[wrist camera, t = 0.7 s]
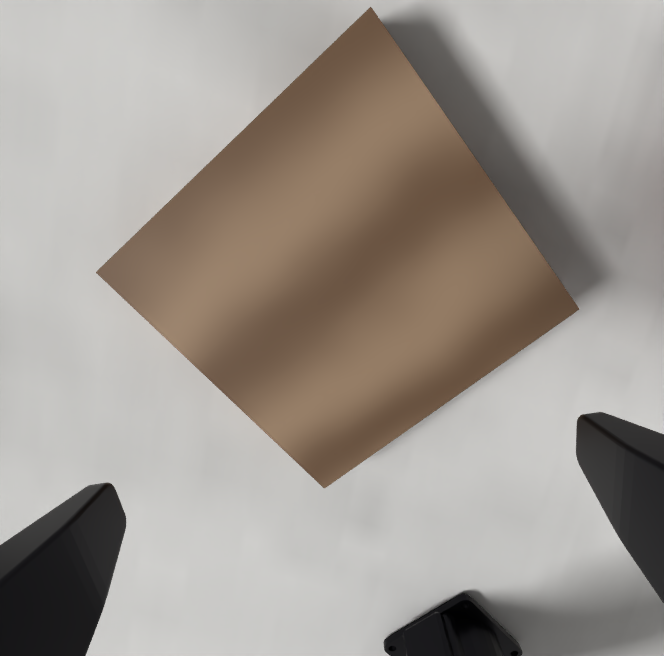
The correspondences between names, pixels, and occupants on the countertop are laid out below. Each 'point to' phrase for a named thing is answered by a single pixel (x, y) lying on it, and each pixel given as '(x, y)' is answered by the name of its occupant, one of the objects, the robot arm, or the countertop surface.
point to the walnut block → (342, 261)
